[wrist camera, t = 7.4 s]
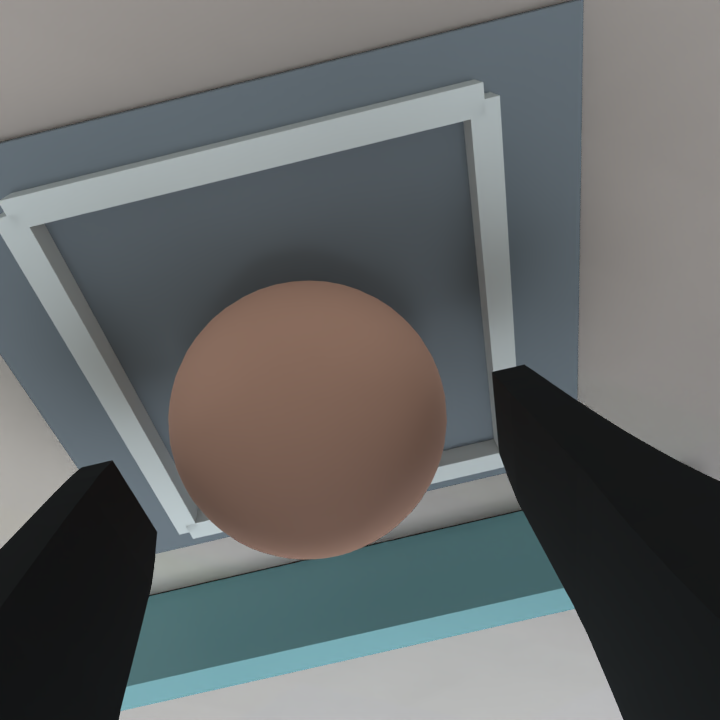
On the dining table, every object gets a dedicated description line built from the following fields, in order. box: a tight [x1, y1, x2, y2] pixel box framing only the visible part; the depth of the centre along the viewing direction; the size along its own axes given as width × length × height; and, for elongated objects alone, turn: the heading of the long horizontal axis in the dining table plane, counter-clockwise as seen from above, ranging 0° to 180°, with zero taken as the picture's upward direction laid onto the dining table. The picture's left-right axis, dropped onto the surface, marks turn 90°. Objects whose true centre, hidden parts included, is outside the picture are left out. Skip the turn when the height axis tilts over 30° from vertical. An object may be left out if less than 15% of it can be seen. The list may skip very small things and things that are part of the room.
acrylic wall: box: [120, 511, 575, 711], centre depth 18 cm, size 20×1×3 cm, turn 102°
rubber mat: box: [0, 0, 583, 554], centre depth 14 cm, size 14×12×1 cm
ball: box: [168, 280, 447, 560], centre depth 11 cm, size 6×6×6 cm
